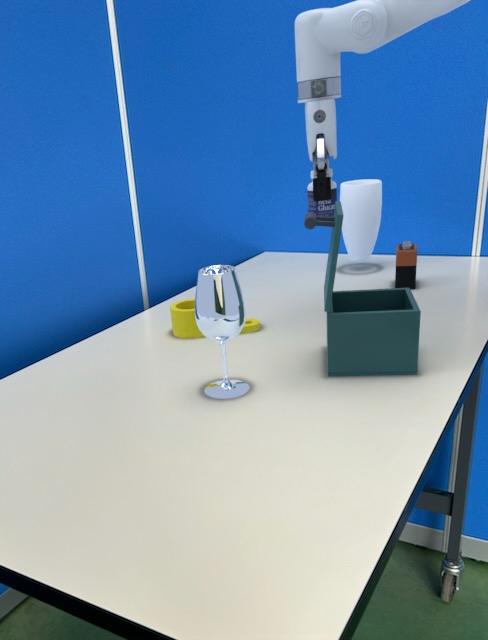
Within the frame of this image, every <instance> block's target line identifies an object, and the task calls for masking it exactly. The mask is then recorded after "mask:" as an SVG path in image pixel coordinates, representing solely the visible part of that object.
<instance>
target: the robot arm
mask: <svg viewBox="0 0 488 640" xmlns="http://www.w3.org/2000/svg"><path fill="white" fill-rule="evenodd" d="M471 1H472V0H354V1H350V2H348V3H345V4H342V5H339V6H334V7H320V8H315V9H309V10H306V11H303V12H301V13H300V14H297V16H296V17H295V20H294V48H295V51H294V52H295V67H296V68H295V69H296V94H297V96H296V97H297V104H304V115H305V116H304V117H305V119H304V120H305V135H306V144H307V152H308V158H309V161H310V162H312V163H313V165H312V166H313V170H314V178H313V200H314V201H325V200H330V199H331V179H332V177H329V169H330V157H332V159H333V160H336V159H337V158H338V142H337V141H338V138H337V137H338V136H337V109H336V100H335V99H339V98H342V77H341V76H342V75H341V72H342V71H341V53H345V52H347V53H348V52H351V53H352V52H353V53H354V54H358V55H359V54H360V55H363V54H368V53H371V52H373V51H375V50H377V49H379V48H381V47H383V46H384V45H386V44H388V43H390V42H392V41H394V40H396V39H397V38H399V37H401V36H403V35H405V34H407V33H409V32H411V31H412V30H415V29H417V28H418V27H421V26H422V25H424V24H426V23H428V22H429V21H432V20H435V19H436V18H439V17H441V16H444V15H446V14H448V13H451V12H452V11H454V10H456V9H457V8H460V7H462V6H463V5H466V4H467V3H469V2H471Z"/></svg>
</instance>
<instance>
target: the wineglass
mask: <svg viewBox="0 0 488 640" xmlns="http://www.w3.org/2000/svg"><path fill="white" fill-rule="evenodd" d="M194 299H195V318H196V323H197V326H198V328H199V330H200V331H201V332H202V334H203V335H204V336H206V337H205V338H207V339H208V340H210V341H213V342H216V343H218V345H219V348H220V352H221V361H222V364H221V365H222V373H223V377H222V380H217V381H214V382H211V383H209V384H208V385H206V386H205V387H204V391H203V392H204V394H205V395H206V396H208V397H210V398H213V399H221V400H225V399H227V400H229V399H234V398H237V397H241V396H243V395H245V394H247V393H248V392H249V390H250V385H249V384H248V383H247V382H246V381H243V380H239V379H230V378H229V374H228V373H229V371H228V362H227V344H228V342H230V341H231V340H233V339H235V338H236V337H237V336H238V335H239V334H241V333H240V332H241V330H242V328H243V326H244V324H245V320H246V319H247V317H246V316H247V311H246V304H245V299H244V294H243V291H242V287H241V282H240V280H239V276H238V274H237V270H236V267H235V266H233V265H229V264H217V265H210V266H206V267H202V268H200V269H199V270H198V272H197V280H196V287H195V298H194Z"/></svg>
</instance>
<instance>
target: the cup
mask: <svg viewBox="0 0 488 640" xmlns="http://www.w3.org/2000/svg"><path fill="white" fill-rule="evenodd" d="M339 188H340V189H339V191H340V192H339V201H341V206H342V211H343V223H342V230H341V234H342V237H343V243H344V245H345V248H346V252H347V254H348V257H349V259H350V261H353V262H364V261H368V260H370V258H371V256H372V254H373V251H374V249H375V246H376V243H377V241H378V235H379V230H380V226H381V222H382V221H381V220H382V208H383V182H382V180H381V179H378V178H377V179H376V178H373V179H372V178H369V179H368V178H367V179H355V180H354V179H353V180H348V181H343V182H342V183H340V185H339Z"/></svg>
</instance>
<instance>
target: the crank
mask: <svg viewBox="0 0 488 640" xmlns="http://www.w3.org/2000/svg"><path fill="white" fill-rule="evenodd" d="M169 310H170V318H171V319H170V320H171V327H172V334H173V336H174V337H177V338H181V339H197V338H198V339H199V338H207V337H206V336H204V335H203V334H202V332H201V331H200V330H199V328H198V326H197V323H196V318H195V298H188V299H182V300H178V301H176V302H173V303H172V304H171V305H170V306H169ZM259 330H261V321H260V320H259V319H257V318H246V320H245V324H244V326H243V328H242V330H241V332H240V333H239V334H249V333H254V332H257V331H259Z"/></svg>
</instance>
